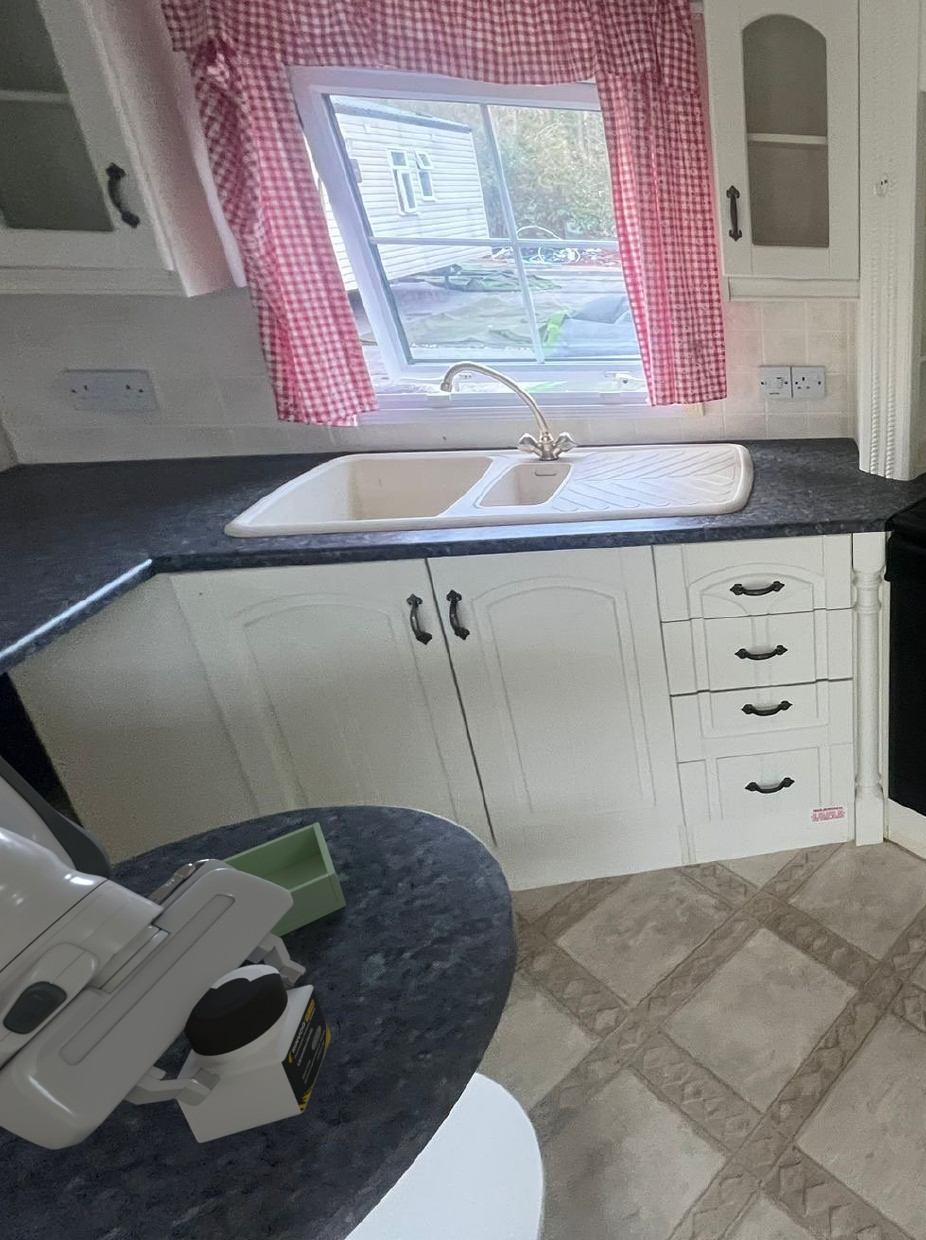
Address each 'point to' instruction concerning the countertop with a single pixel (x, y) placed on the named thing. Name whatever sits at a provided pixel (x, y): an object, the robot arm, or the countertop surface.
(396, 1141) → the countertop surface
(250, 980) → the medicine bottle
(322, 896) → the tub
